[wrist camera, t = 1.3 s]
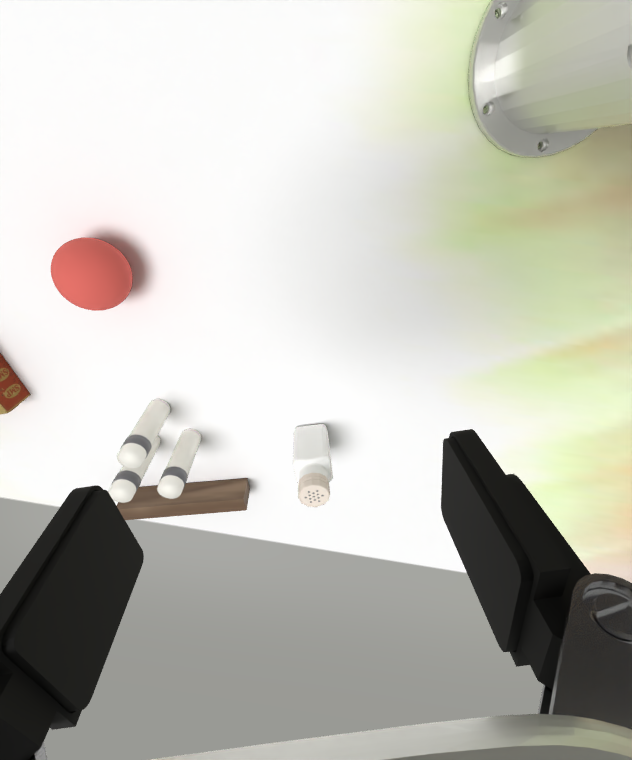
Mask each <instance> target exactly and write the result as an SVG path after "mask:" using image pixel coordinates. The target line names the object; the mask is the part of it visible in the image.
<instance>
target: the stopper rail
mask: <svg viewBox="0 0 632 760" xmlns="http://www.w3.org/2000/svg"><path fill="white" fill-rule="evenodd" d="M157 487H158V486H146V487H138V489H137V491H136V493H135V494H134V496H133V498H132V500H131V501H129V502H126V503H121V502H118V504H117V508H118V510H119V511H120V513H121V515H122V516H123V518H124V520H132V519H144V518H157V517H169V516H181V515H193V514H206V513H218V512H230V511H242V510H247V504H248V498H249V491H250V487H249V483H248V479H247V478H243V479H231V480H219V481H206V482H194V483H186V484H185V486H184V488H183V490H182V493H181V495H180V496H179V497H177V498H174V499H169V498H165V497H163V496H161V495H160V494H159V493H158V491H157Z"/></svg>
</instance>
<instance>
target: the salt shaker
mask: <svg viewBox="0 0 632 760" xmlns="http://www.w3.org/2000/svg"><path fill="white" fill-rule="evenodd" d="M293 467H294V472H295V477H296V480H297V483H298V498H299V500H300V501H301V503H302V504H304V505H306V506H308V507H318V506H321V505H324V504H325V503H326V502H327V501H328V500H329V496H330V489H329V482H330V481H331V480H332V479H333V475H332V464H331V454H330V445H329V438H328V431H327V427H326V426H325V425H324V424H317V425H309V426H301V427H297V428H295V430H294V442H293Z"/></svg>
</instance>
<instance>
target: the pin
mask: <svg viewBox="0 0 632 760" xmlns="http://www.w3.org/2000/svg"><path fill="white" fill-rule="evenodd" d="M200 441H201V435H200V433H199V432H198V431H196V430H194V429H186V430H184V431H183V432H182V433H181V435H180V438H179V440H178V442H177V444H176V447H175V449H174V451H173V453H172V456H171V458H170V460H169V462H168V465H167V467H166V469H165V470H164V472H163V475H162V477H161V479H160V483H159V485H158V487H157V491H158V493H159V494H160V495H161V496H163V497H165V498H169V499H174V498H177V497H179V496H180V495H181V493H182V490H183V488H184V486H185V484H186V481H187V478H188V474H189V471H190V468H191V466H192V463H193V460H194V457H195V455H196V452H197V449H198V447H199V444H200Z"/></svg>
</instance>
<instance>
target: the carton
mask: <svg viewBox="0 0 632 760" xmlns="http://www.w3.org/2000/svg"><path fill="white" fill-rule="evenodd" d="M29 395H31V394H30V393H29V392H28V390H27V389H26V388H25V386H24V385H23V383H22V382H21V381H20V379H19V378H18V377H17V375H16V374H15V373H14V371H13V370H12V368H11V367H10V366H9V364H8V363H7V362H6V360H5V359H4V357H3V356H2V355H1V353H0V414H5V413H9V412H10V411H12V410H13V409H14V408H16V407H17V406H18V405H19V404H20V403H21V402H22V401H24V400H25V399H26V398H27V397H28V396H29Z"/></svg>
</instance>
